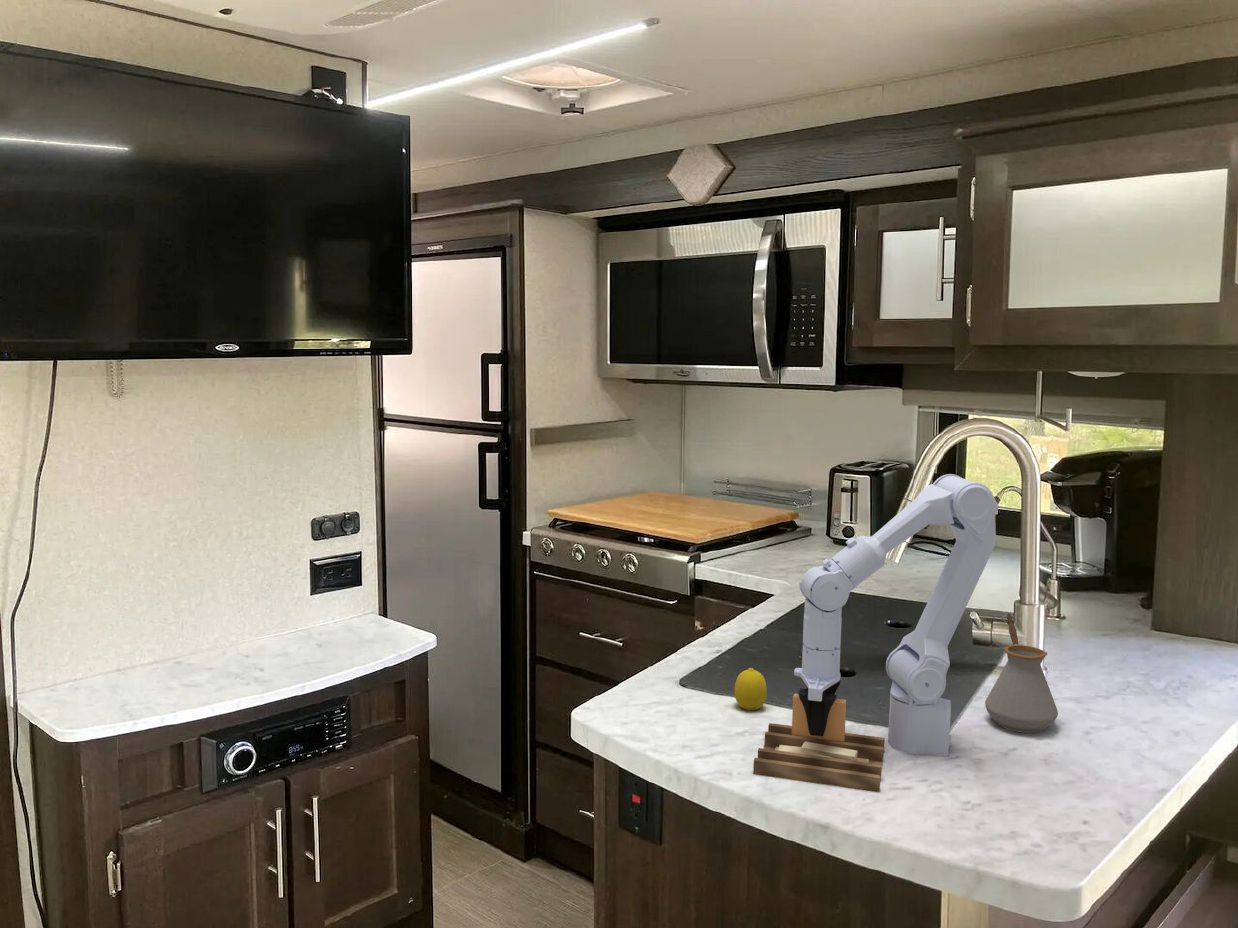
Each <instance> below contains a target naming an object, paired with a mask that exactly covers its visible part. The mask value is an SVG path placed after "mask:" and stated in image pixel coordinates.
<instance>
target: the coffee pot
mask: <svg viewBox="0 0 1238 928" xmlns="http://www.w3.org/2000/svg"><path fill="white" fill-rule="evenodd" d="M1004 617H1006V620H1007V621H1006V620H1004ZM1013 618H1014V619H1013ZM1001 620H1002V621H1003V622H1004V623H1006V624H1007V625H1008V633H1009V636H1010V639H1011V642H1012V644H1011V645H1007V646H1005V647H1004V649H1003V650H1004V653H1006V654H1007V655H1006V656H1007V662H1006V664H1005V665H1004V667H1003V669H1002V671H1001V672H1000V674H999V676H998V678H997V679H996V681H995V683H994V685H993V686H992V688H991V690H990V691H989V692H988V693H989V694H988V695H987V697H986V699H985V701H984V706H985V709H986V712H987V713H988V715H990V717H991V718H992V719H993V720H995V722H996V724H997V725H999V726H1000V727H1001V728H1004V729H1006V730H1008V731H1013V732H1018V733H1023V734H1025V733H1027V734H1033V733H1039V732H1042V731H1044V730H1045V729H1047V728H1048V727H1051V725H1053V724H1054V722H1055V721H1056V719H1057V718H1058V716H1059V711H1058V707H1057V705H1056V703H1055V701H1054V700H1055V699H1054V697H1053V695H1052V692H1051V689H1050V687H1049V684H1048V681H1047V679H1046V678H1047V677H1046V675H1045V673H1044V671H1043V667H1042V665H1041V664H1042V663H1043V660H1044V659H1045V658H1046V657H1047V655H1048V652H1047V651H1045V650H1043V649H1041V648H1038V647H1035V646H1031V645H1030V646H1029V645H1023V644H1019V640H1018V632H1017V629H1016V626H1015V621H1016V617H1015V616H1014V615H1012V614H1011V613H1007V614H1005V615H1003V616H1002V618H1001Z"/></svg>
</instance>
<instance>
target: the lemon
mask: <svg viewBox="0 0 1238 928" xmlns="http://www.w3.org/2000/svg"><path fill="white" fill-rule="evenodd" d="M766 683H767V682H766V679H765V677H764V676H763V674H762V673H761V672H759V671H758V670H756V669H754V668H753V667H749V668H748V669H745V670H743V671H742V672H740V673H739V674H738V676H737V678H736V680H735V684H734V688H733V689H734V697H735V700H736V703H737V704H738V705H739V707H740V708H742V709H744V710H747V711H756V710H758V709H760V708H761V707H762V706H763V705H764V703H765V702H766V699H767V696H768V695H767V688H768V687H767V684H766Z"/></svg>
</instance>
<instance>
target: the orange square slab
mask: <svg viewBox="0 0 1238 928" xmlns="http://www.w3.org/2000/svg"><path fill="white" fill-rule="evenodd" d="M846 711H847V699H842V698H836V700H835V702H834V703H833V705H832V707H831V709H830V711H829V714H828V719H827V724H826V729H825V732H824V735H823V737H821V736H813V735H810V734H809V730H808V724H807V718H806V713H805V709H804V707H803V704H802V702H801V700H800V698H799V693H794V694H793V696H792V714H791V717H792V719H791V726H792V735H795V736H803V737H811V738H818V739H826V740H833V741H841V742H844V741H845V733H846V718H847V717H846V713H847V712H846Z"/></svg>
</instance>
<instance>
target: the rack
mask: <svg viewBox="0 0 1238 928" xmlns="http://www.w3.org/2000/svg"><path fill="white" fill-rule="evenodd" d="M885 738H886V737H881V736H873V735H867V734H859V733H858V734H857V733H850V732H845V741H844V742H841V741H833V740H826V739H818V738H811V737H803V736H795V735H792V725H788V724H779V723H772V722H769V723H768V731H765V732H764V745H763V747H758V750H757V757H754V758H753V768H752V769H753V773H752V774H753V775H755V776H763V777H769V778H770V777H771V778H777V779H783V780H784V779H785V780H790V781H796V782H797V781H798V782H802V783H803V782H805V783H810V784H819V785H825V786H831V787H839V788H846V789H852V790H861V791H865V792H873V793H880V790H881V789H880V788H881V780H882V772H883V763H884V756H885V741H886V739H885ZM804 742H811V743H817V744H823V745H828V746H834V747H840V748H845V749H851V750H857V757H856V758H863V759H869V763H866V762H858V761H851V760H844V759H836V758H829V757H822V756H814V755H807V754H800V753H793V752H785V751H778V750H775V748H776V747H779V745H786V746H796V747H802V745H803V744H804Z"/></svg>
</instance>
